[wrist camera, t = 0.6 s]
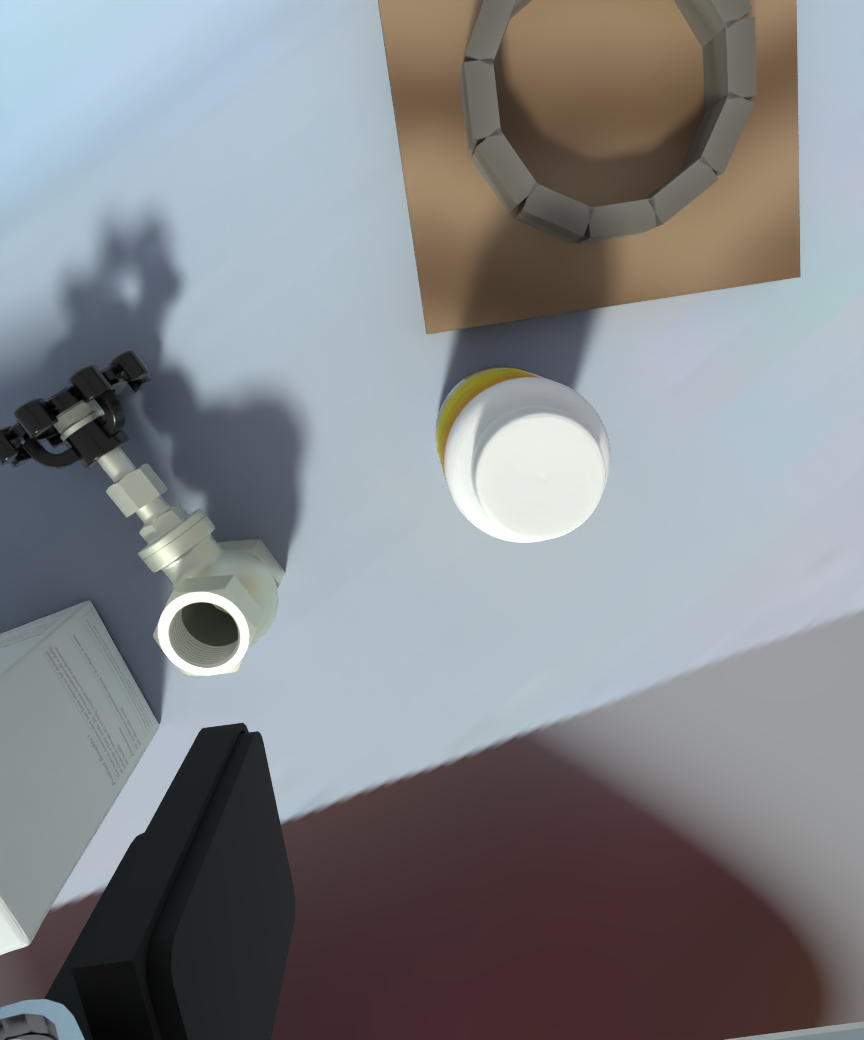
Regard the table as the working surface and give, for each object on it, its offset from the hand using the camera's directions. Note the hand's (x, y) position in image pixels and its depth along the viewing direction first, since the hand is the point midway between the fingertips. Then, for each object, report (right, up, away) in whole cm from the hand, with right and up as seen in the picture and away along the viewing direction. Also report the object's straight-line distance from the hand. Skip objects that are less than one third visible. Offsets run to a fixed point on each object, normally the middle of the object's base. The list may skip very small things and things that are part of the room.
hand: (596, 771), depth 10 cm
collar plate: (+4, +20, +18) cm, 27 cm away
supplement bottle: (+1, +7, +21) cm, 23 cm away
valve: (-13, +4, +22) cm, 26 cm away
